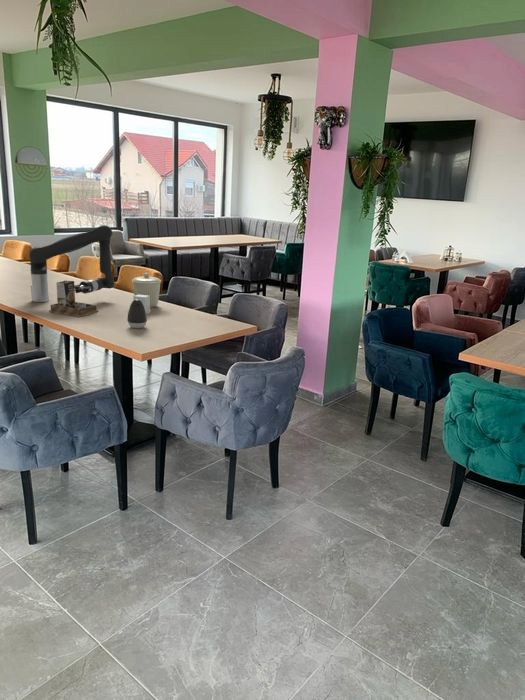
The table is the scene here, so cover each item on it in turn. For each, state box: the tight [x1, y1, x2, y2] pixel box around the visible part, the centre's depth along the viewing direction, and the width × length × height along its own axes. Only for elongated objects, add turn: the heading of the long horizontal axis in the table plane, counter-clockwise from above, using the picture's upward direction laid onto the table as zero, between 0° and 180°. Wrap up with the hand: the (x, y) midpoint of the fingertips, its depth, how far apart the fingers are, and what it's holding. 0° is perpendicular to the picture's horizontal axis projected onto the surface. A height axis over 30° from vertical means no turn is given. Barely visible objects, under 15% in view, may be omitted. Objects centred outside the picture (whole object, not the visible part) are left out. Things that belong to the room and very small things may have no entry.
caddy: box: [48, 301, 99, 318], centre depth 311 cm, size 22×16×5 cm
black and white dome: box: [127, 299, 148, 329], centre depth 282 cm, size 10×10×15 cm
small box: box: [132, 294, 151, 315], centre depth 315 cm, size 8×6×10 cm
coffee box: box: [56, 280, 76, 307], centre depth 311 cm, size 9×6×16 cm
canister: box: [131, 272, 162, 309], centre depth 331 cm, size 18×18×21 cm
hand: (70, 290), depth 313 cm, fingers open, 8 cm apart
